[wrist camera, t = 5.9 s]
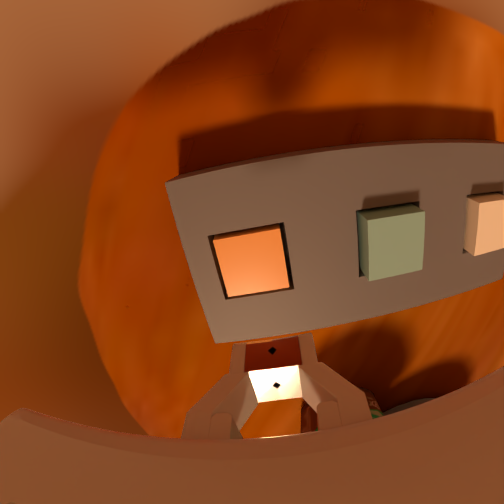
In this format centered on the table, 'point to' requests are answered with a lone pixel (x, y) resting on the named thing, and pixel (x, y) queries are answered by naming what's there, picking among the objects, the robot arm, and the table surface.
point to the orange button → (252, 260)
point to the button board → (336, 229)
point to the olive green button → (391, 240)
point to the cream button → (484, 223)
